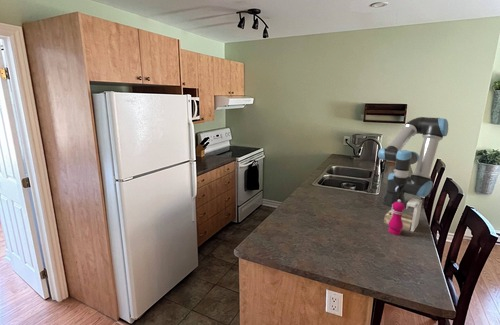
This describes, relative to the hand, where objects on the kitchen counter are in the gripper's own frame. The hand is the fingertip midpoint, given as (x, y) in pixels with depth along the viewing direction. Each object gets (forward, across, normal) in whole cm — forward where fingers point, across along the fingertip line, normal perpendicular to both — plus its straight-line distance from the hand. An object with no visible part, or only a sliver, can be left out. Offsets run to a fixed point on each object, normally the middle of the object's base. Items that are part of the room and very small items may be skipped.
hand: (395, 212), depth 165 cm
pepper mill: (+7, +15, +4) cm, 17 cm away
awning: (+6, 0, +9) cm, 11 cm away
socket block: (+6, 0, +3) cm, 7 cm away
